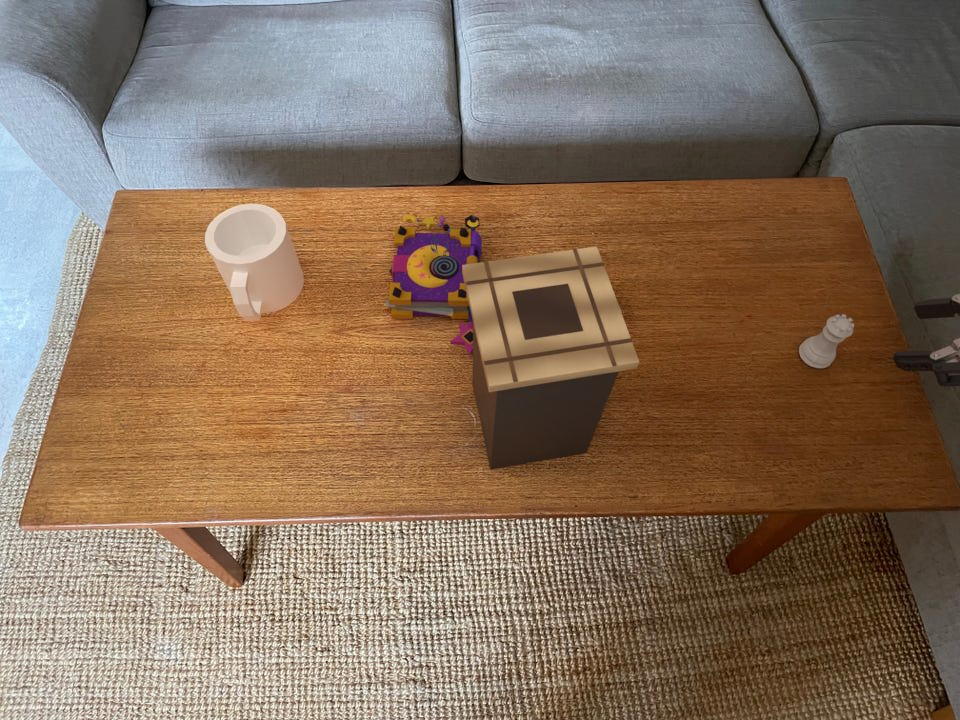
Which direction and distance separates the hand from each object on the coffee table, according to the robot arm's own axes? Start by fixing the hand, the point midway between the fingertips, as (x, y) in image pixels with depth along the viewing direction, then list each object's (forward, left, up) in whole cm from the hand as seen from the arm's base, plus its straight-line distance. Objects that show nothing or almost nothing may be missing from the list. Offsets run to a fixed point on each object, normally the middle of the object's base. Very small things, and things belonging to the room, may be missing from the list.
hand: (906, 334), depth 76 cm
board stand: (+2, +44, -10) cm, 46 cm away
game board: (+2, +44, +12) cm, 46 cm away
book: (+24, +52, -11) cm, 59 cm away
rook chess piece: (+4, +4, -11) cm, 12 cm away
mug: (+28, +76, -11) cm, 82 cm away
